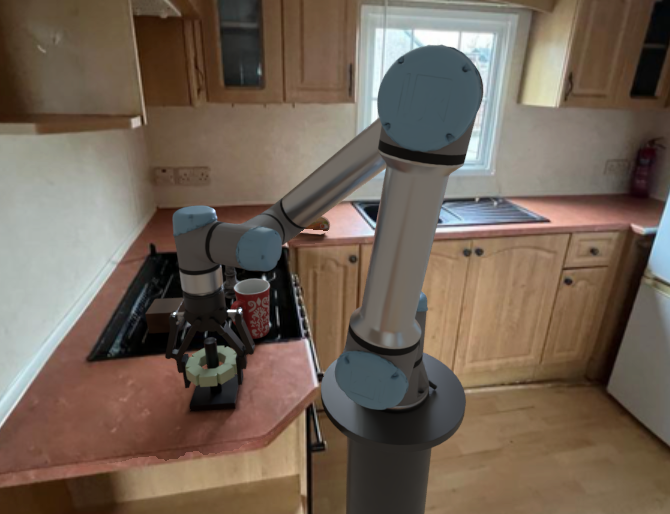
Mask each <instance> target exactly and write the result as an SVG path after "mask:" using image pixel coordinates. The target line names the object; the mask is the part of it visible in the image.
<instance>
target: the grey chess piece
mask: <svg viewBox="0 0 670 514" xmlns="http://www.w3.org/2000/svg"><path fill="white" fill-rule="evenodd" d="M224 268H225V269H224V270H225V272H224V275H225V281H223V284H222V285H223V287H224V295H225V299H236V295H235V291H234V286H235V285H236V284H237V283H239V282H241V280H238V279H237V270H236V267H232V266H227V265H224Z"/></svg>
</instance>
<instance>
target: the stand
mask: <svg viewBox="0 0 670 514" xmlns="http://www.w3.org/2000/svg"><path fill="white" fill-rule="evenodd" d="M217 346H218V343H217V338H216V337H213V336H211V337H210V336H209V337H207V338H205V339H204V340H203V348H205V355H206V362H207V365H206V369H215V368H217V367H219V366H220V362H219V359H218V351H217ZM240 387H241V385H238V377H237V374H235V376H234V377H233V378H231V379H230V380H228V381H226V382H225V383H223V384H222V385H221V384H220V383H218V385H217V386H208V387H200V384H199V385H198V386H196V385H195V387H194V390H193V393H192V396H191V399H190V402H189V405H188V409H189V412H190V413H191V412H193V413H194V412H206V411H222V410H235V409H237V403H238V397H239V393H240V392H239V391H240Z"/></svg>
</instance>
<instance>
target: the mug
mask: <svg viewBox="0 0 670 514" xmlns="http://www.w3.org/2000/svg"><path fill="white" fill-rule="evenodd" d="M270 288H271V284H270V282H269V281H267V280H266V279H261V278H248V279H244V280H240V282H239V283H237V284H236V285H235V286H234V291H235V295H236V298H235V299H236V300H235V301H233V303H232V304H231V306H230V309H229V310H237V308H238V307H241V308H242V309H243V319H244V321H245V323H246V326H247V328H248V330H249V332H250V335H251V337H252V339H253V340H257V339H260V338H263V337H265V336H267V335H268V334H269V333H270ZM232 323H233V324H234V325H235V322H233V321H232Z"/></svg>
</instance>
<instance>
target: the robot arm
mask: <svg viewBox="0 0 670 514" xmlns="http://www.w3.org/2000/svg"><path fill="white" fill-rule="evenodd" d="M483 98H484V82H483V78H482V76H481V72H480V71H479V69H478V67H477V66H476V65H475V63H474V62H473V60H472V59H471V58H469V57H468V56H467V54H465V53H464V52H463V51H461V50H459V49H458V48H456V47H453V46H447V45H444V44H427V45H422V46H419V47H415V48H412V49H411V50H408V51H406V52H405V53H404V54H402V55H401V56H399V57H398V58H397V59H396V60H394V62H393V63H392V64H391V65H390V66H389V68H388V69H387V70H386V72H385V73H384V75H383V77H382V79H381V82H380V85H379V88H378V91H377V100H376V102H377V103H376V107H377V115H378V117H377V118H376V119H375V120H374V121H372V122H371V123H370V124H369V125H368V126H366V127H365V128H364V129H363V130H362V131H360V132H359V133H358V134H357V135H356V136H355V137H353V138H352V139H351V140H349V142H347V143H346V144H345V145H344V146H343V147H341V148H340V149H338V151H337V152H335V153H334V154H333V155H331V156H330V157H329V158H328V159H327V160H325V162H323V163H322V164H321V165H320V166H318V167H317V168H316V169H315V170H314V171H312V173H310V174H308V176H306V177H305V178H304V179H303V180H302V181H300V182H299V183H298V184H297V185H296V186H294V187H293V188H292V189H290V191H288V192H287V193H286V194H285V195H284V196H282V197H281V198H279V200H277V201H276V202H275V203H274V204H272V205H271V206H270V207H269V208H268V209H266V210H264V211H263V212H261V213H259V214H257V215H255V216H254V217H252V218H250V219H248V220H246V221H244V222H242V223H231V222H224V221H220V220H218V216H217V212H216V210H215V209H214V208H213V207H210V206H208V205H189V206H184V207H182V208H179V209H177V210H176V211H174V212H173V214H172V230H173V231H172V232H173V233H172V236H173V238H174V239H173V240H174V245H175V249H176V256H177V261H178V270H179V278H180V285H181V290H182V298H183V299H184V306H185V312H178V311H177V310H174V311H173V312H172V313H171V315H170V317H169V323H170V332H168V333H169V334H168V338H167V344H166V348H165V349H166V350H165V353H164V354H165V355H164V357H165V359H166V360H172V359H173V360H175V362H176V369H177V373H178V374H182V376H183V383H184V389H190V387H191V383H192V382H191V381H189V380H188V379H187V375H186V369H185V366H186V364H187V361H188V359H189V357H190V356H189V353H186V352H187V350H188V348H189V346H190V344H191V342H192V341H193V338H194V337H195V335H196V334H197V332H199V333H206V332H217V334H218V335H219V336H222V338H223V339H224V340H225V341H226V343H227V344H228V345H229V346H230V348H231V349H233V350H234V351H235V352H236V353H237V355H236V366H237V377H238V385H240V386H242V385H243V381H244V370H246V369H247V366H248V355H250V356H251V355H254V353H255V349H256V348H255V347H256V344H255V341H254V339H252V337H251V335H250V332H249V330H248V328H247V326H246V323H245V321H244V319H243V309H242V308H241V307H238V308H237V310H230V309H229V308H228V306H227V305H226V297H225V295H224V294H225V290H224V287H223V285H222V284H223V283H224V277H223V268H222V266H225V265H227V266H232V267H235V268H238V269H243V270H245V269H246V270H245V271H247V270H250V271H249V272H256V271H255V270H258V271H257V272H269V271H271V270H273V269H274V268H276V266H277V264H278V261H280V258H281V256H282V250H283V245H285V244H286V243H287V242H289V241H291V240H292V239H295V238H296V237H297V236H298V235H300V234H301V233H300V232H301V231H303V230H304V229H305V228H306V227H308V226H309V225H310V224H312V223H313V222H314V221H316V220H317V219H318V218H320V217H321V216H324V215H326V214H327V213H328V212H329V211H331V210H332V209H333V208H335V207H336V206H337V205H339V204H340V203H342V202H343V201H344V200H346V199H347V198H349V197H350V196H351V195H352V194H353V193H355V192H356V191H358V190H359V189H360V188H362V187H363V186H364V185H366V184H367V183H368V182H370V181H371V180H373V179H374V178H375V177H377V176H378V175H380V174H381V173H382V172H383V171H384V170H385V171H384V176H383V182H382V187H381V193H380V199H379V205H378V210H377V211H378V212H377V217H376V222H375V228H374V232H373V233H374V234H373V239H372V243H371V244H372V245H371V251H370V255H369V256H370V257H369V262H368V268H367V273H366V279H365V283H364V284H365V285H364V290H363V297H362V302H361V306H359V307H357V308H356V309H354V310H353V311H352V313H351V315H350V318H349V322H348V328H347V333H346V340H345V345H344V348H343V351H342V353H341V354H340V355H339V356H338V357H337V358H338V359H337V358H336V359H337V364H336V367H335V378H336V381H337V384H338V386H339V387H340V389H341V390H342V391H343V392H345V394H346V396H347V397H348V398H350V399H351V400H352V401H354V402H355V403H357V404H359V405H361V406H364V407H366V408H370V409H376V410H379V411H382V412H386V413H396V414H398V413H407V412H411V411H414V410H416V409H418V408H419V407H421V406H422V405H423V404H424V403H425V402H426V400H427V398H428V394H429V386H430V387H431V388H433V389H434V390H435V389H436V388H437V385H435V384H434V383H432V382H431V381H430V380H428V377H427V373H426V370H425V366H424V363H423V352H424V349H425V337H426V335H425V334H426V326H427V325H426V323H427V312H428V311H429V307H428V297H427V295H426V294H425V293H424V292H423V286H424V281H425V278H426V273H427V271H428V265H429V261H430V257H431V254H432V249H433V244H434V241H435V237H436V231H437V228H438V223H439V220H440V215H441V211H442V206H443V203H444V199H445V194H446V190H447V186H448V182H449V179H450V178H449V177H450V175H452V173H454V172H456V171H458V170H459V169H461V168H462V167H463V166H465V161H466V158H467V153H468V150H469V147H470V142H471V139H472V135H473V130H474V126H475V122H476V119H477V114H478V113H479V110H480V109H481V106H482V102H483ZM251 270H253V271H251ZM227 318H230V319H231V321H232V323H233V322H235V324H234V326H235V327H236V330H237V333H238V334H239V336H238V335H237V334H236V332H234V330H233V329H232V328H231V326H230V325H229V323H228V321H227ZM183 319H185V321H186V323H188V324H189V325H190V328H189V329H188V331H187V334H186V335H185V337H184V339H183V341H182V343H181V344H180V346H179V348H178V349H176V346H177V340H178V336H179V335H178V334H179V332H178V330H179V325H180V323H181V322H182V320H183ZM239 337H240V338H239Z"/></svg>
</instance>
